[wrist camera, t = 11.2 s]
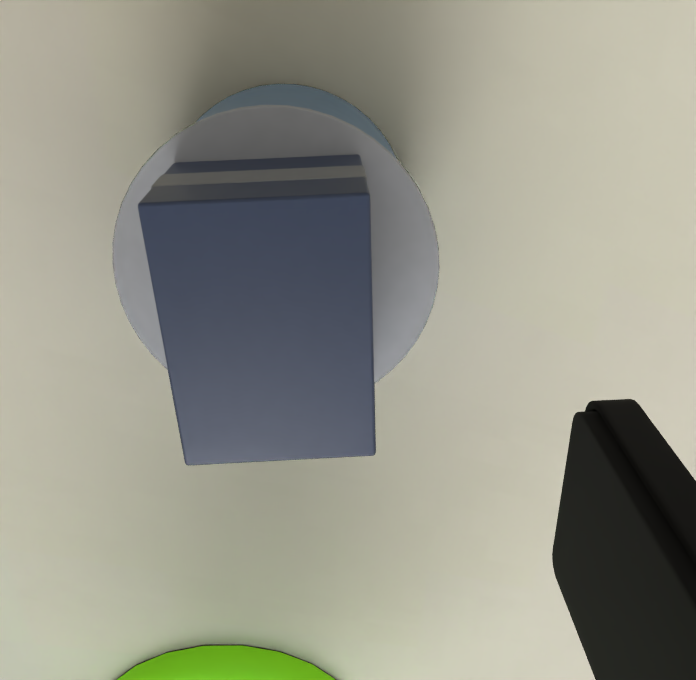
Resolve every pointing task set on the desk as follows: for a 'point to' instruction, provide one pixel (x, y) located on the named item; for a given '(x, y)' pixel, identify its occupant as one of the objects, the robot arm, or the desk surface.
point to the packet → (265, 306)
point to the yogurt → (299, 141)
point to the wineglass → (225, 665)
